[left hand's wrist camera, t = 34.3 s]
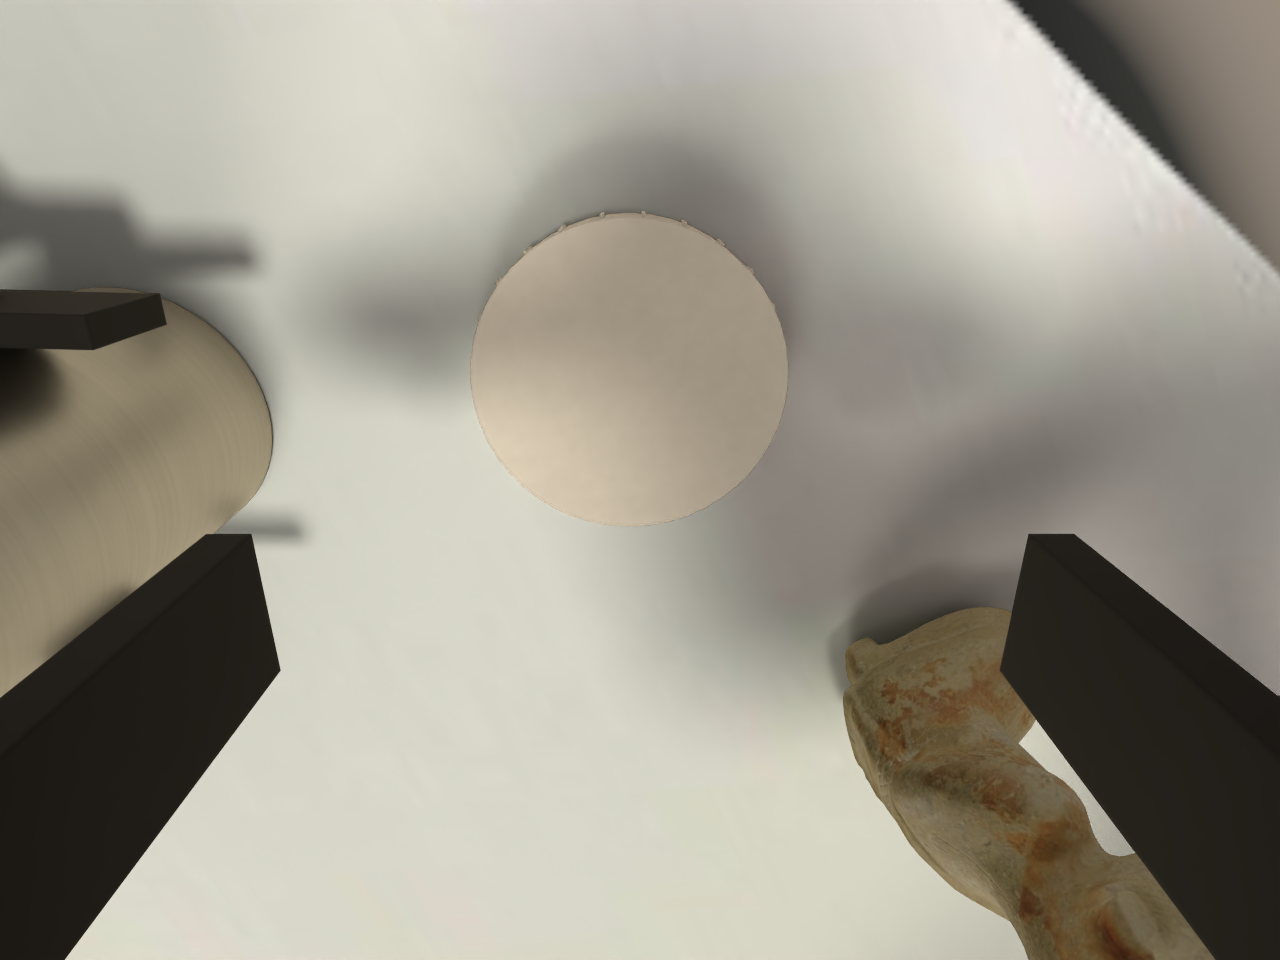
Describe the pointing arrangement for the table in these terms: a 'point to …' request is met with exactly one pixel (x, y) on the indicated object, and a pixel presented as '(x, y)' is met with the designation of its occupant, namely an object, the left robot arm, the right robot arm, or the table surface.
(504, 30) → the table surface
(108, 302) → the right robot arm
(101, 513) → the jar
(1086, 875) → the sculpture
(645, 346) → the lid
